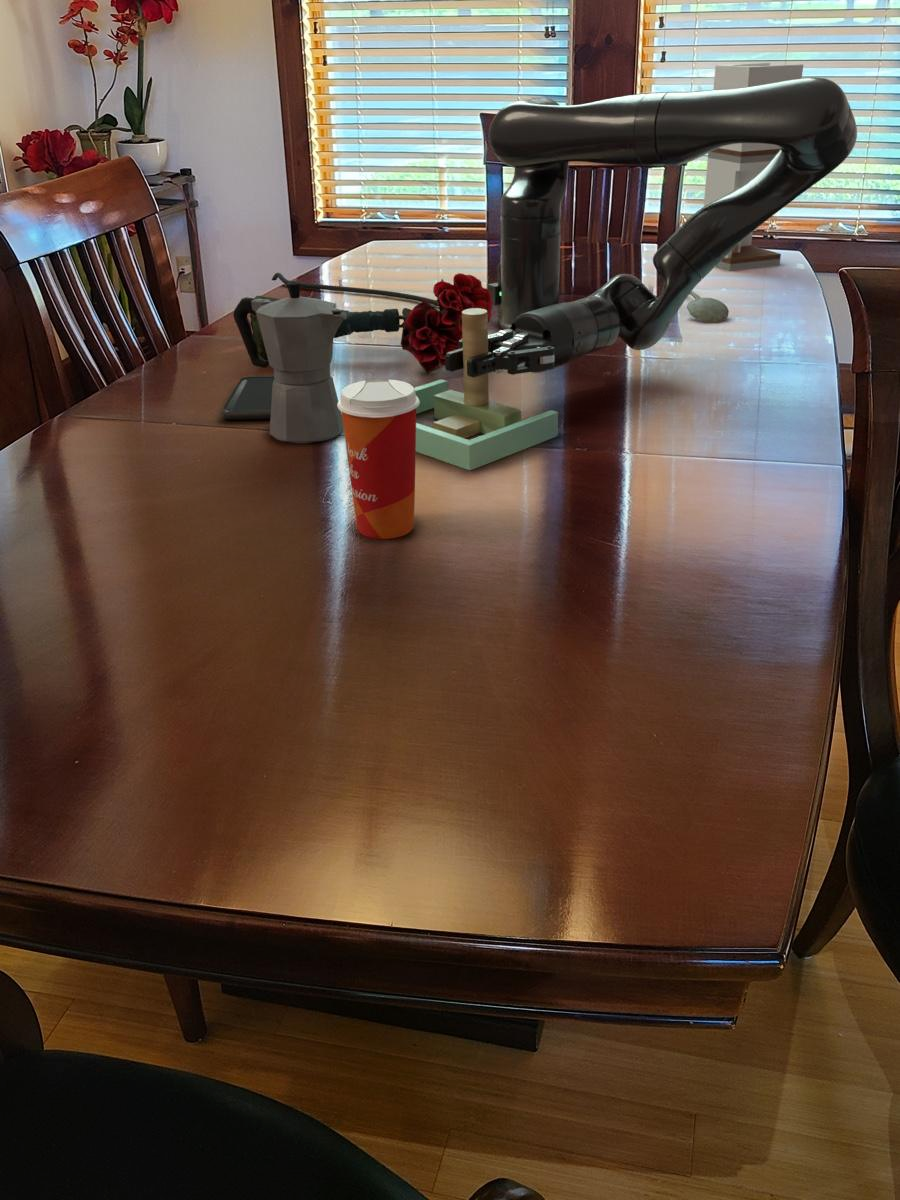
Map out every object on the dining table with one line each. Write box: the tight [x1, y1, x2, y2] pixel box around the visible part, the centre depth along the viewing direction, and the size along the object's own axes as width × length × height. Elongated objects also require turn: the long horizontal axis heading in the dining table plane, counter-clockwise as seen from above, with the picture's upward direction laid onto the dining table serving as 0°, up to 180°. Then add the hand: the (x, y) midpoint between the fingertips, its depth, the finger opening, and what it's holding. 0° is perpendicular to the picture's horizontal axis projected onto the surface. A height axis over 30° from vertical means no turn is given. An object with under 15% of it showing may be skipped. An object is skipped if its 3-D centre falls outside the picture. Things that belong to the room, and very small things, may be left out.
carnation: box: [249, 272, 493, 373], centre depth 154 cm, size 16×18×35 cm
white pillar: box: [703, 62, 804, 272], centre depth 204 cm, size 11×11×35 cm
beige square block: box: [432, 414, 481, 439], centre depth 129 cm, size 4×4×2 cm
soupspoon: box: [686, 290, 730, 323], centre depth 182 cm, size 22×3×7 cm
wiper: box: [433, 308, 522, 435], centre depth 129 cm, size 3×12×14 cm, turn 45°
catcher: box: [413, 378, 559, 471], centre depth 129 cm, size 15×20×3 cm
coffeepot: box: [232, 280, 347, 444], centre depth 128 cm, size 15×9×18 cm, turn 65°
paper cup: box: [337, 379, 420, 540], centre depth 103 cm, size 8×8×14 cm
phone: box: [221, 375, 275, 421], centre depth 142 cm, size 8×1×15 cm
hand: (458, 365), depth 126 cm, fingers closed on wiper, 3 cm apart
